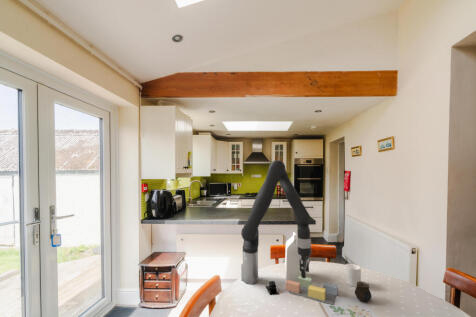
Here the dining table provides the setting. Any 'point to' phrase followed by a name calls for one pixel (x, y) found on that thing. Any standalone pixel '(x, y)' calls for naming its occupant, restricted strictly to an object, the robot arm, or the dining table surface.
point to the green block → (305, 281)
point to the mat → (304, 293)
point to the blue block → (330, 288)
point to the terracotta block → (293, 286)
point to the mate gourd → (363, 292)
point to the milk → (292, 259)
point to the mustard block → (317, 292)
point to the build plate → (272, 288)
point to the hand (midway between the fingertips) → (305, 274)
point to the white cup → (353, 274)
